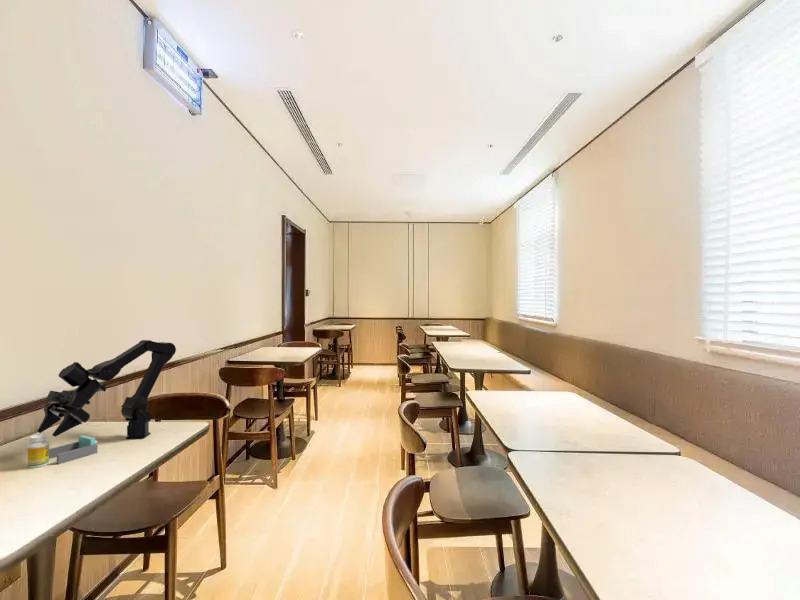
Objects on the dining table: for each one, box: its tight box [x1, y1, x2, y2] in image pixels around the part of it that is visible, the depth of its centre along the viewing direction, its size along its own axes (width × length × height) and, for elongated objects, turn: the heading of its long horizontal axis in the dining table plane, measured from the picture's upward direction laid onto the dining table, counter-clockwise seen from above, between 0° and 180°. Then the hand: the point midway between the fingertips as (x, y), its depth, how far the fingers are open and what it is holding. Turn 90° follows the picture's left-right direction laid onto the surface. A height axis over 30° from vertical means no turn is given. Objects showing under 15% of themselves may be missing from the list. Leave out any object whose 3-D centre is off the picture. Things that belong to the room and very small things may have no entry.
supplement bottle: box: [27, 433, 50, 469], centre depth 144 cm, size 5×5×10 cm
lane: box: [49, 435, 98, 465], centre depth 153 cm, size 14×10×5 cm
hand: (46, 434), depth 146 cm, fingers open, 9 cm apart
